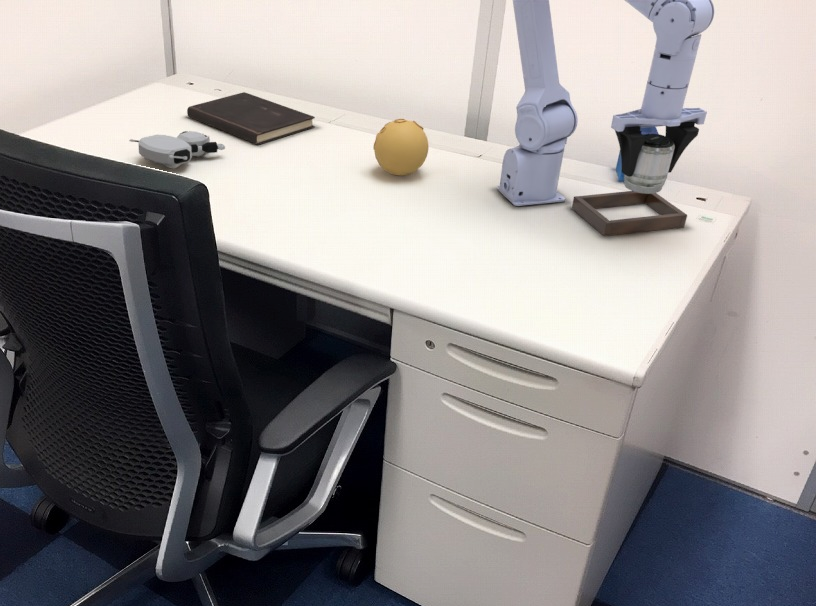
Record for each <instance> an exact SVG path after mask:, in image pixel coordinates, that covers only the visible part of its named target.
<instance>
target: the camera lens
mask: <svg viewBox="0 0 816 606" xmlns="http://www.w3.org/2000/svg"><path fill="white" fill-rule="evenodd" d="M643 135H644V136H646V137H647V139H646V141H645V143H644V144H643V146H642V148H641V151H640V153H639V156H638V159H637V163H636V167H635V171H634V173H633V175H632V176H630V177H628V176H626V175H625V174H624V180H625V182H623V186H624V187H625V188H626V189H628V191H634V192H638V193H645V194H651V193H657V194H658V193H659V192H661V191H662V190H663V187H664V186H665V183H666V181H667V179H668V174H669V173H668V171H669V167H670V164H671V160H672V156H673V152H674V149H675V145H674V142H673V141H672V140H671V139H669V138H667V137H666V136H665V135H663V134H660V133H658V134H643Z"/></svg>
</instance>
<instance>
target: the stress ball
mask: <svg viewBox="0 0 816 606" xmlns="http://www.w3.org/2000/svg"><path fill="white" fill-rule="evenodd" d="M424 129H425V128H424V127H423V126H422V125H420V124H419V123H418V122H417V121H415V120H413V121H412V120H409V119H405V118H397V119H394V120H393V121H388V122H387V123H386V124H384V126H383V127H381V129H380V131H379V132H377V133H376V136H375V139H374V142H373V150H374V156H375V159H376V161H377V163H378V165H379V166H380V167H381V168H382V169H383V170H384V171H385V172H387V173H389V174H391V175H394V176H407V175H411V174H413V173H415V172H417V170H418V169H420V168H421V167H422V166H423V165H424V163H425V162H426V160H427V157H428V154H429V140H428V135H427V134H426V132H425V131H424Z"/></svg>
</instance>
